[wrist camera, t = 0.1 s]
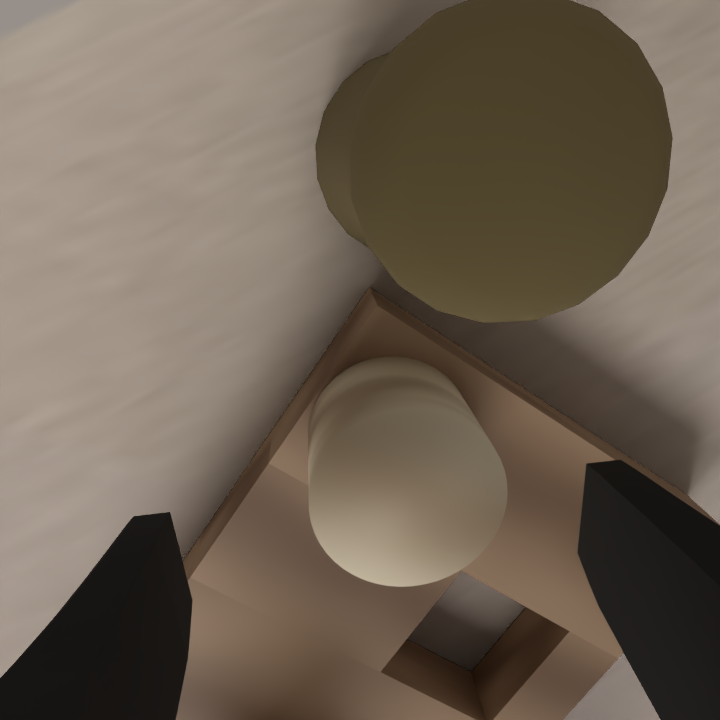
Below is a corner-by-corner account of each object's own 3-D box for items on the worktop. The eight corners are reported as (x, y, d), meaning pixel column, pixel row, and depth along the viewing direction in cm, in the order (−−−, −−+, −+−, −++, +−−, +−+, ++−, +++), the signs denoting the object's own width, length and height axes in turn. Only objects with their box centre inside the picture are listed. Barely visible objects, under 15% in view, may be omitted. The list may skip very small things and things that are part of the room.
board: (376, 855, 29) (395, 1051, 22) (70, 726, 25) (-5, 913, 19) (688, 496, 24) (818, 615, 18) (368, 287, 21) (395, 345, 15)
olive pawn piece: (376, 294, 21) (445, 438, 11) (276, 115, 19) (242, 80, 9) (548, 197, 21) (795, 250, 10) (461, 5, 19) (655, -170, 8)
